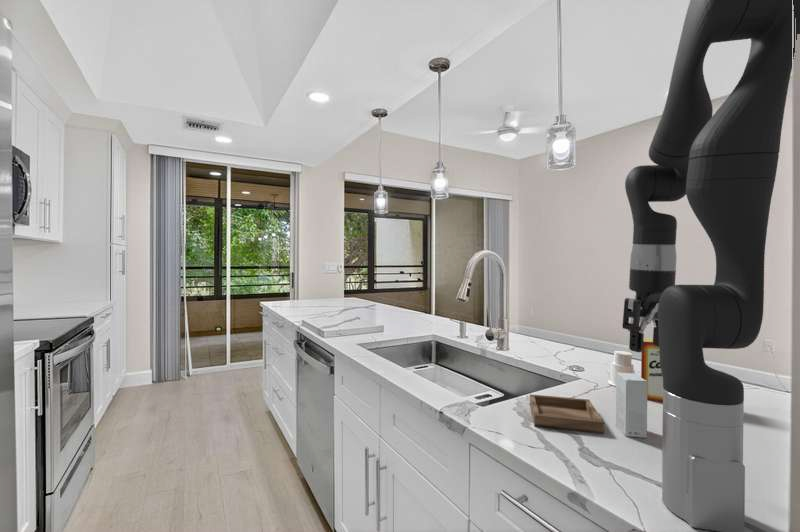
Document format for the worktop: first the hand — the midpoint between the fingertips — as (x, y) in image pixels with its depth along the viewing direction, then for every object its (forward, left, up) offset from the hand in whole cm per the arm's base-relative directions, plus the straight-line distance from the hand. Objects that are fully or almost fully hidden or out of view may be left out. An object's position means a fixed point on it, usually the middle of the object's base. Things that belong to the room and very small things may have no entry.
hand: (647, 348), depth 75 cm
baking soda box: (+31, -14, -20) cm, 40 cm away
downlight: (+41, -7, -20) cm, 46 cm away
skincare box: (+6, +1, -20) cm, 21 cm away
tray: (+10, +14, -20) cm, 26 cm away
